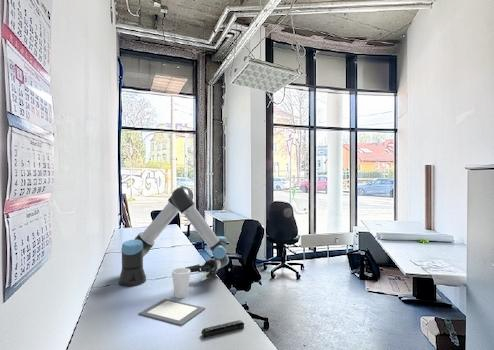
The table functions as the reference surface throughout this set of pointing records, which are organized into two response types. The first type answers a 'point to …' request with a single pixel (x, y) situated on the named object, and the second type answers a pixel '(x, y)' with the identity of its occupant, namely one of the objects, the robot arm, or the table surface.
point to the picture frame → (172, 311)
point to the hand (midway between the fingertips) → (191, 276)
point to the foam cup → (181, 282)
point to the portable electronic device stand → (222, 328)
